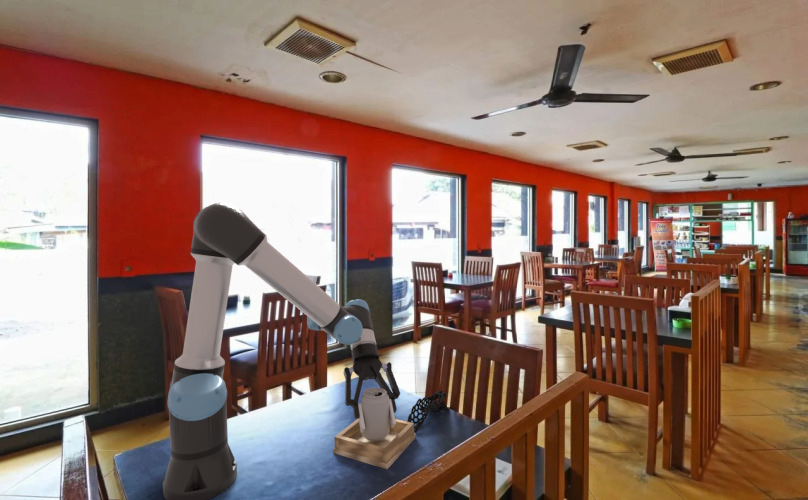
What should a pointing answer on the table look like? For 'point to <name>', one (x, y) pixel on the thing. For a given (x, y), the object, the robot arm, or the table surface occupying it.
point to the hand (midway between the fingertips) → (378, 427)
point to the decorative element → (426, 408)
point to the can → (375, 414)
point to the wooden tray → (375, 444)
